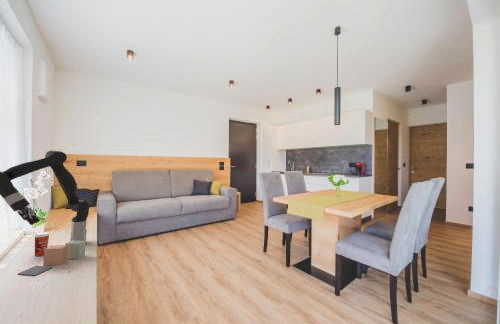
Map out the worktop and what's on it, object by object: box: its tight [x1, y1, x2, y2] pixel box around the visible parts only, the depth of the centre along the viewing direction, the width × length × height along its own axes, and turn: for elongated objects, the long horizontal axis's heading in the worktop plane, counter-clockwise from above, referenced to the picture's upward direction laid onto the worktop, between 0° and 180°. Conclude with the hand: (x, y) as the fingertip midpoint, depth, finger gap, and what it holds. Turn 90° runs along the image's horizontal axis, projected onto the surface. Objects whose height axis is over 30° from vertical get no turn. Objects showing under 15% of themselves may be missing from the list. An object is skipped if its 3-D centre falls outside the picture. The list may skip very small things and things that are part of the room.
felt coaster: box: [17, 265, 53, 277], centre depth 126 cm, size 10×10×1 cm
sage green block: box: [64, 240, 87, 260], centre depth 147 cm, size 9×6×10 cm, turn 97°
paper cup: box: [33, 231, 51, 257], centre depth 149 cm, size 8×8×14 cm
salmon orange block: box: [42, 244, 67, 267], centre depth 138 cm, size 9×6×10 cm, turn 106°
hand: (35, 223), depth 135 cm, fingers open, 8 cm apart
